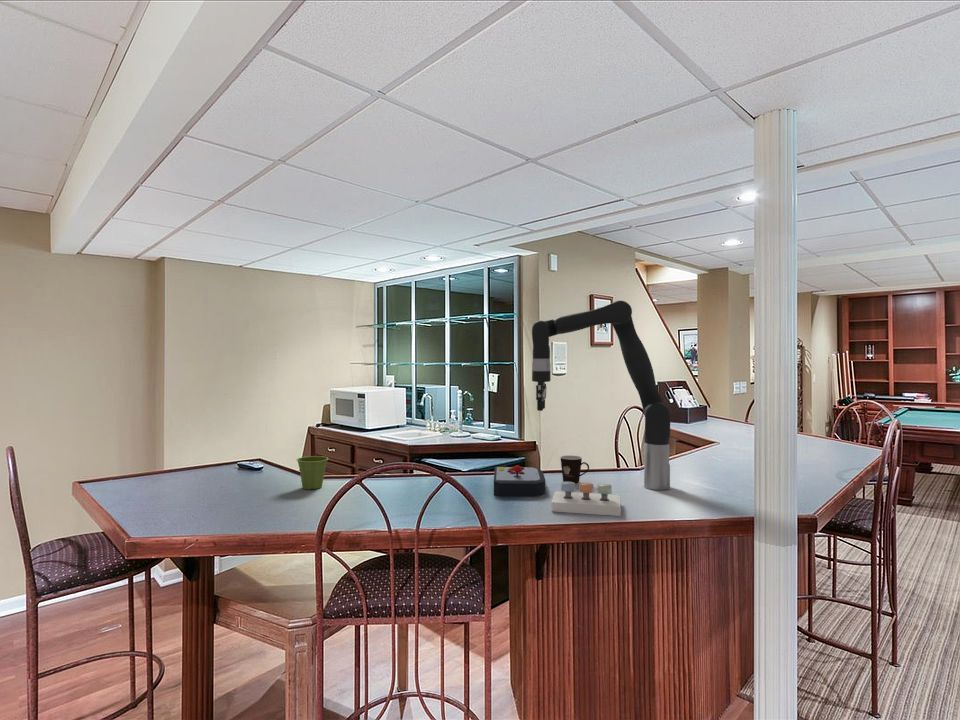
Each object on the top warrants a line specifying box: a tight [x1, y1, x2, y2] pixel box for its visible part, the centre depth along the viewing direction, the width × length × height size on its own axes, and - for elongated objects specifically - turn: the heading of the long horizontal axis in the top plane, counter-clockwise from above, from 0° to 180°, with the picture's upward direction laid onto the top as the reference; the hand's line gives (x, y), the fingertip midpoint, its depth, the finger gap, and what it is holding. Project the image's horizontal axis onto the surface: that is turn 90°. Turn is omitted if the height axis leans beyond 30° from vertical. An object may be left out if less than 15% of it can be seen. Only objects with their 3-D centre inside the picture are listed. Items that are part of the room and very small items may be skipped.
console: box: [551, 491, 622, 517], centre depth 177 cm, size 22×14×3 cm, turn 77°
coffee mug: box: [559, 454, 590, 485], centre depth 212 cm, size 12×9×10 cm
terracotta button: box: [578, 482, 594, 500], centre depth 177 cm, size 5×5×6 cm
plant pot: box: [296, 455, 329, 490], centre depth 204 cm, size 12×12×11 cm
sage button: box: [596, 483, 612, 501], centre depth 176 cm, size 5×5×6 cm
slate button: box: [560, 481, 576, 499], centre depth 179 cm, size 5×5×6 cm
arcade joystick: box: [493, 464, 546, 498], centre depth 205 cm, size 28×19×10 cm
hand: (541, 409), depth 214 cm, fingers open, 8 cm apart
